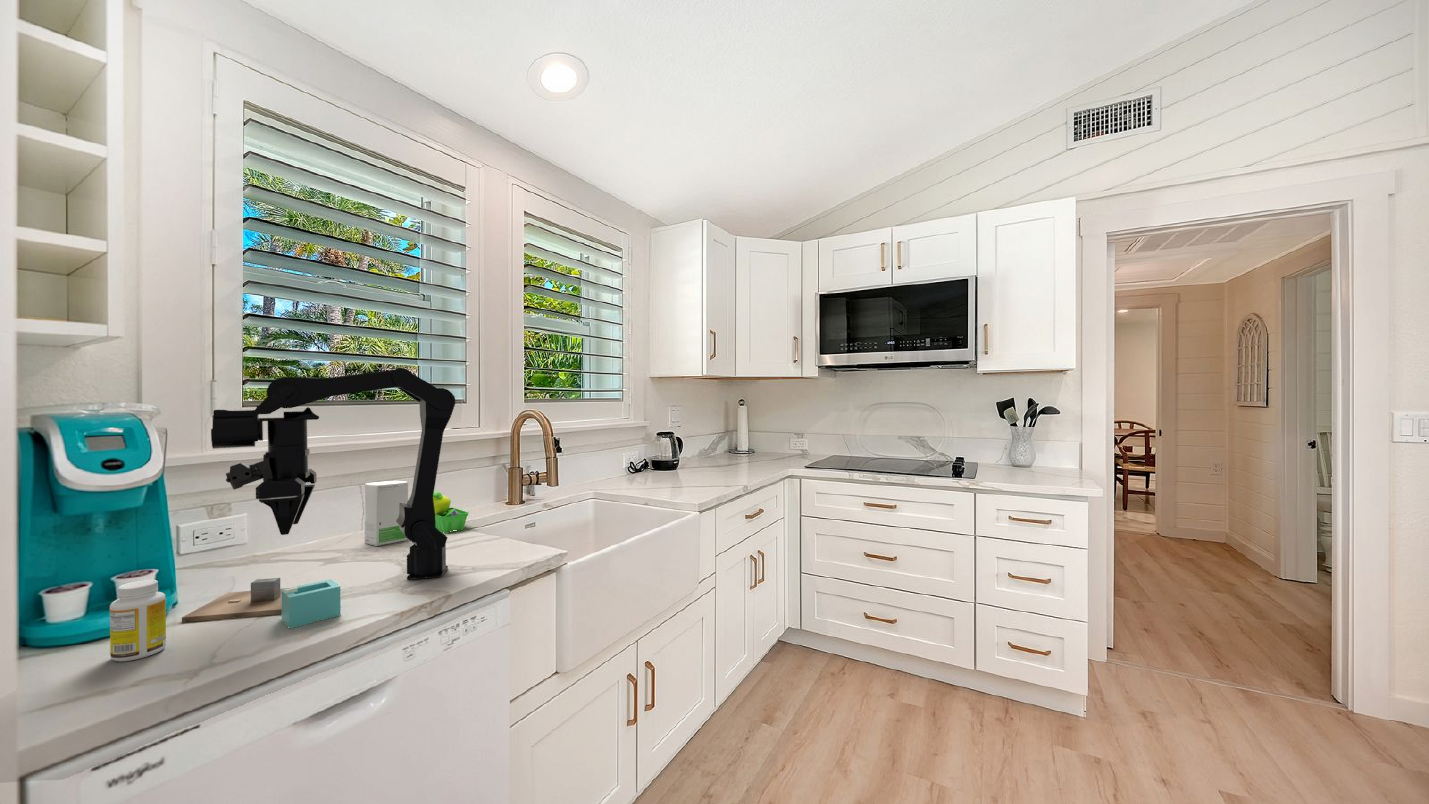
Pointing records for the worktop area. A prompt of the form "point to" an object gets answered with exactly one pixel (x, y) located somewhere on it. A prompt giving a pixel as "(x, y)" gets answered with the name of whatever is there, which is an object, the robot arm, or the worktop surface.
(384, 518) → the skincare box
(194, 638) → the worktop surface
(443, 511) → the fruit basket
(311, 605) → the teal hollow block
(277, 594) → the grey rectangular block
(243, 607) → the base plate
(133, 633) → the supplement bottle
